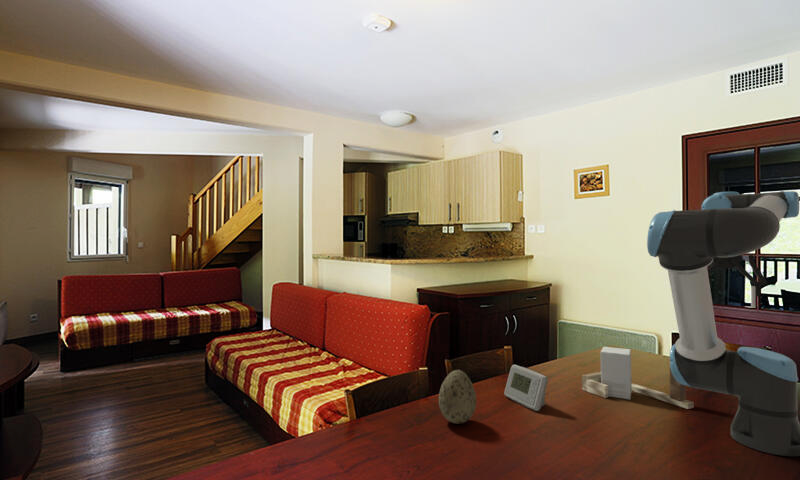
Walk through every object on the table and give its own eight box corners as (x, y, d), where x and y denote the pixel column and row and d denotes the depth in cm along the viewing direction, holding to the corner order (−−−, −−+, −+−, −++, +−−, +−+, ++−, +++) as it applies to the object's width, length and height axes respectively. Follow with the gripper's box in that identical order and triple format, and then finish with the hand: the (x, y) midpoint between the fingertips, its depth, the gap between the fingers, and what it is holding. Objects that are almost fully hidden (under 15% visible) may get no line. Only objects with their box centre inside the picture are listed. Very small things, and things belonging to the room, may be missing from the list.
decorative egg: (482, 420, 127) (482, 368, 127) (466, 433, 118) (466, 378, 118) (449, 412, 133) (449, 363, 133) (431, 424, 124) (431, 371, 124)
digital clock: (502, 395, 147) (501, 364, 147) (526, 393, 149) (525, 362, 149) (527, 414, 131) (526, 378, 132) (553, 411, 134) (553, 376, 134)
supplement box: (632, 392, 150) (631, 348, 150) (630, 400, 142) (630, 354, 143) (603, 387, 155) (602, 345, 155) (600, 395, 147) (600, 351, 147)
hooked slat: (693, 407, 135) (693, 370, 136) (658, 417, 128) (657, 378, 128) (615, 382, 160) (615, 350, 160) (581, 389, 152) (581, 356, 152)
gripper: (774, 239, 138) (774, 307, 137) (680, 240, 151) (680, 301, 151) (778, 239, 131) (779, 309, 131) (680, 239, 145) (680, 303, 144)
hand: (726, 305), depth 141 cm, fingers open, 13 cm apart
